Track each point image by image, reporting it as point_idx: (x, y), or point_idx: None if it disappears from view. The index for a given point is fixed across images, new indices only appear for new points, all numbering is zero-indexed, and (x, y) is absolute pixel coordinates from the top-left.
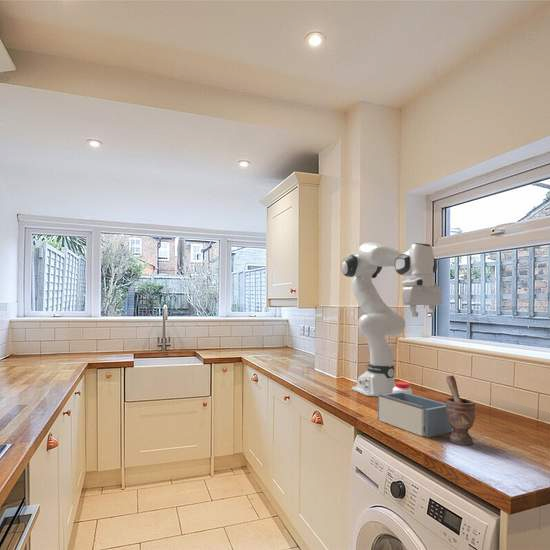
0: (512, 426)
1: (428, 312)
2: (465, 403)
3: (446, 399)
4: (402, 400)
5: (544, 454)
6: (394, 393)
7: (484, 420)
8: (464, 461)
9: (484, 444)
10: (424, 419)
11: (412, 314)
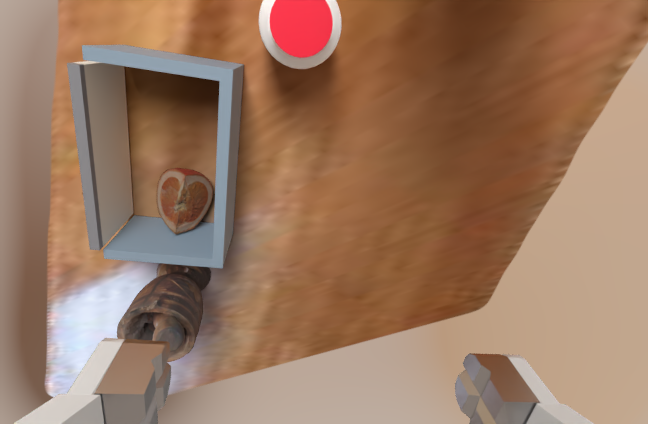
0: (395, 285)
1: (493, 417)
2: None
3: (129, 313)
4: (88, 175)
5: (263, 367)
6: (177, 69)
7: (395, 233)
8: (92, 320)
9: (217, 302)
10: (169, 200)
11: (90, 365)
